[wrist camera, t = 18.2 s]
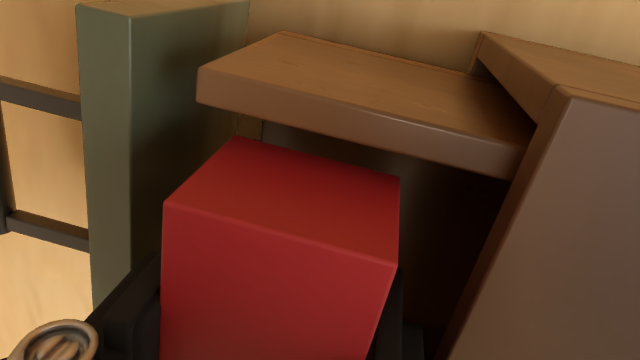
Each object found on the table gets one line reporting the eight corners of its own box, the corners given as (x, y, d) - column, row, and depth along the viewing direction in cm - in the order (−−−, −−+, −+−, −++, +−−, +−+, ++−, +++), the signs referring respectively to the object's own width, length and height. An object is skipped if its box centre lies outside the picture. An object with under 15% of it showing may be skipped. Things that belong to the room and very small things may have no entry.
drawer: (67, 233, 21) (-84, 348, 15) (43, -49, 15) (-219, -67, 9) (499, 356, 19) (545, 546, 13) (645, 90, 14) (854, 189, 7)
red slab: (209, 355, 14) (153, 465, 11) (233, 133, 10) (161, 201, 7) (333, 392, 13) (311, 515, 10) (401, 175, 10) (399, 265, 7)
